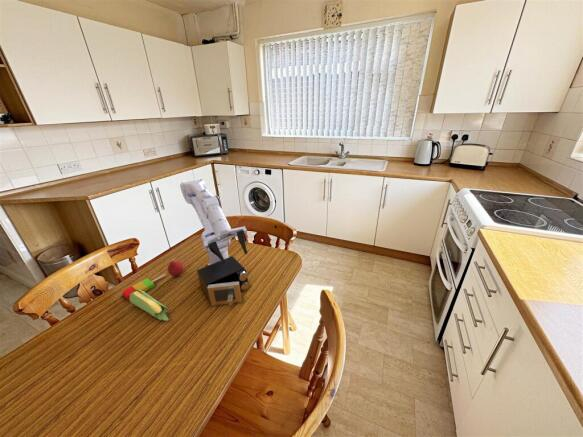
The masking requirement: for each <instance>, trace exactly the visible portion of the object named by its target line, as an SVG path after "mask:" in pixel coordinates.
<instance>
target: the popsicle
mask: <svg viewBox="0 0 583 437" xmlns="http://www.w3.org/2000/svg"><path fill="white" fill-rule="evenodd" d="M166 276H167V274H166V273H163V274H162V275H160V276H158V277H156V278H154V279H153V280H150V279H149V278H147V277H145V279H142V280H141V281H139V282H137V283H135V284H133V285H132V286H129V287H127V288H126V289H124V290H123V291H122V295H123V297H124V298H125V299H126V300H127V301H130V300H129V298H130V295H131V293H132V291H133V290H141V291H144V292H145V293H147V292H148V291H150V290H152V289H153V288H155V287H156V285H155V282H157V281H159V280H160V279H162V278H164V277H166Z"/></svg>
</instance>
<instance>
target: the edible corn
mask: <svg viewBox="0 0 583 437" xmlns="http://www.w3.org/2000/svg"><path fill="white" fill-rule="evenodd" d="M128 301H129V302H130V303H131V304H133V305H134V306H135V307H137V308H138V309H140V310H142V311H143V312H145V313H147V314H149V315H150V316H152V317H154V318H156V319H157V320H159V321H165V322H166V321H167V322H168V321H169V317H168V316H167V314H166V313H168V310H171V309H170V308H169V307H167V306H165V305H164V304H163V303H161V302H160V301H158V300H157V299H156V298H154V297H152V296H151V295H150V294H149V293H147V292H144V291H141V290H133V291H132V293H131V295H130V298H129V300H128Z"/></svg>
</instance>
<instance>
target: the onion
mask: <svg viewBox="0 0 583 437" xmlns="http://www.w3.org/2000/svg"><path fill="white" fill-rule="evenodd" d="M184 270H185V265H184V263H183V262H181V261H180V260H176V258H173V259H172V260H171V262H169V264H168V266H167V273H168V274H169V275H170V276H172V277H179V276H180V275H182V274H183V273H184Z"/></svg>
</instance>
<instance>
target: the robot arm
mask: <svg viewBox="0 0 583 437" xmlns="http://www.w3.org/2000/svg"><path fill="white" fill-rule="evenodd" d="M179 185H180V186H179V187H180V191H181V194H182V197H183V198H184V199H183V200H184V201H185V202H186V204H190V205H191V206H192V207H193V209H194V211H195V212H196V215H197V217H198V219H199V222H200V223H201V225H202V227H203V230H204V231H203V232H202V233H201V236H200V239H201V240H200V241H201V243H202V246H203V249H204V251H205V252H206V253H207V256H208V263H207V266H209V265H211V264H214V263H216V262H219V261H222V263H223V264H224V263H225V260H224V259H226V258H229V257H230V256H229V252H228V249H229V246H230V245H231V239H233V238H236V237H237V241H238V243H239V244H240V246H241V248H242V251H243V253H244V255H247V254H248V249H247V247H246V240H245V239H246V237H245V235H246V234H248V232H247V230H248V229H247V228H246V226H245V225H243V226H240V227H234V228H231V225H230V223H229V221H228V219H227V217H226V215H225V213H224V211H223V208H222V207H223V206H222V202H221V199H220V197H219V195H213V194H212V193H211V192H210V191H209V190H208V189H207V185H206V182H205V180H204V179H203V178H200V179H196V180H191V181H185V182H180V184H179Z"/></svg>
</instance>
